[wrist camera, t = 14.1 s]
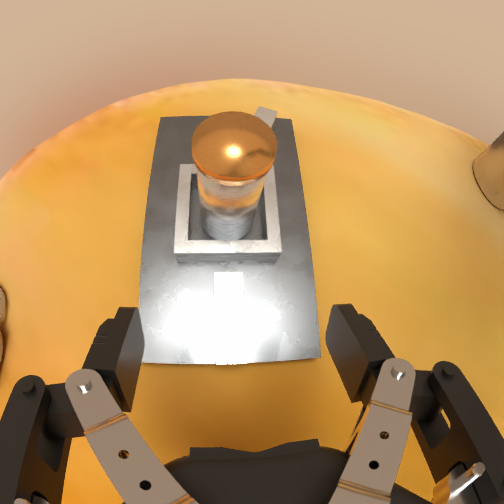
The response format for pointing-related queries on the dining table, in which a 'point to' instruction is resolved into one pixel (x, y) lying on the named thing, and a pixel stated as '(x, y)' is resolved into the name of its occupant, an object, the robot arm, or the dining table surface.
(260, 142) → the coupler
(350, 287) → the dining table surface
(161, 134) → the coupling base
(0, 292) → the ceramic mug
